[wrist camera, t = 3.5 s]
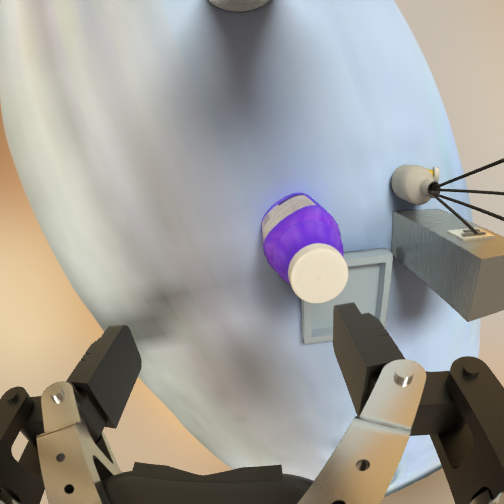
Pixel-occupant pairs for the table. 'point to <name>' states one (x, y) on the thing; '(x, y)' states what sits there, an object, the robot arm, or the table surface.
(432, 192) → the reed diffuser
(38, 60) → the table surface
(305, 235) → the bottle
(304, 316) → the tray
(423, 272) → the grey slotted box
